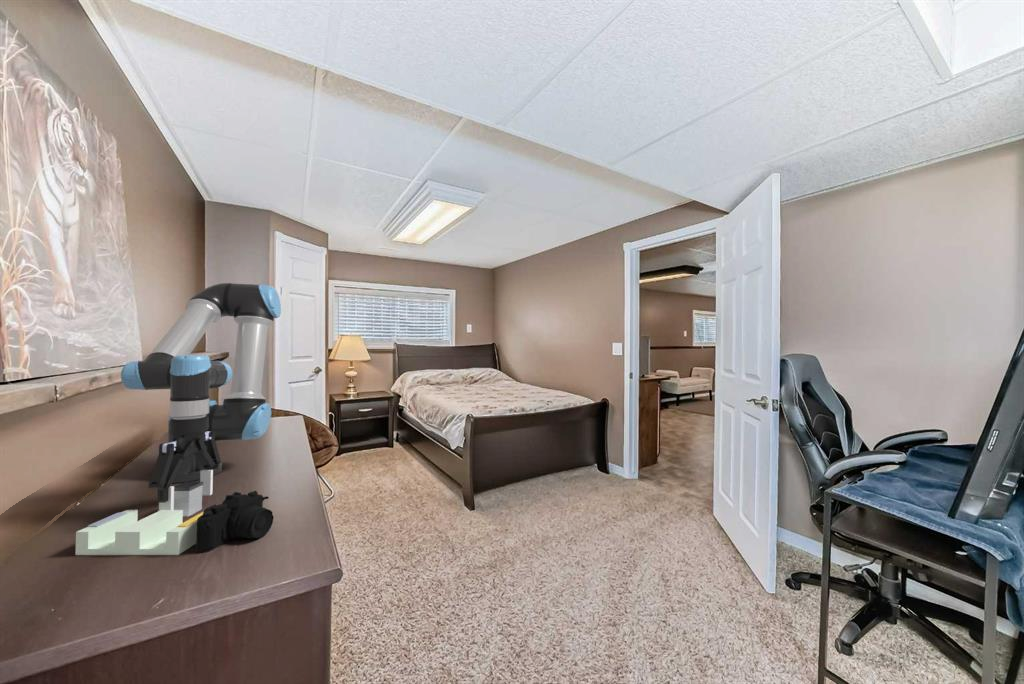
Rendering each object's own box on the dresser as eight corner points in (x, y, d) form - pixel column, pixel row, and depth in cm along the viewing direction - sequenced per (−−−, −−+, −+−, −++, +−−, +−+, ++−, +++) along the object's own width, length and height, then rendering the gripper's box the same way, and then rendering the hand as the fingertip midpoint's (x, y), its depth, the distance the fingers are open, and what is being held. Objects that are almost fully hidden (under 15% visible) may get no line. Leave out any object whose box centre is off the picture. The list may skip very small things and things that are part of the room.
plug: (185, 509, 95) (186, 481, 95) (202, 509, 95) (203, 481, 95) (171, 516, 91) (171, 487, 91) (188, 516, 91) (189, 487, 91)
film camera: (226, 559, 73) (227, 513, 74) (188, 552, 76) (189, 508, 76) (288, 523, 88) (288, 485, 88) (254, 519, 90) (255, 482, 90)
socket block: (126, 530, 84) (126, 508, 84) (216, 530, 84) (217, 508, 84) (75, 555, 74) (76, 530, 74) (178, 555, 74) (178, 530, 74)
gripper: (211, 408, 105) (209, 486, 105) (127, 426, 81) (124, 526, 81) (238, 408, 105) (236, 486, 105) (162, 426, 82) (159, 526, 81)
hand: (187, 504), depth 93 cm, fingers open, 11 cm apart
